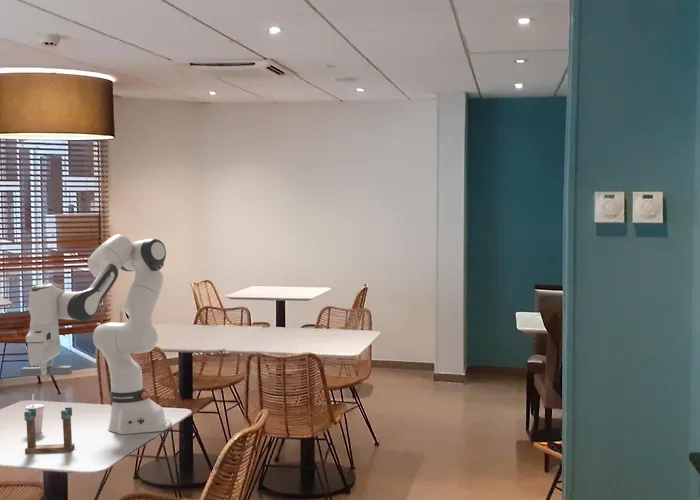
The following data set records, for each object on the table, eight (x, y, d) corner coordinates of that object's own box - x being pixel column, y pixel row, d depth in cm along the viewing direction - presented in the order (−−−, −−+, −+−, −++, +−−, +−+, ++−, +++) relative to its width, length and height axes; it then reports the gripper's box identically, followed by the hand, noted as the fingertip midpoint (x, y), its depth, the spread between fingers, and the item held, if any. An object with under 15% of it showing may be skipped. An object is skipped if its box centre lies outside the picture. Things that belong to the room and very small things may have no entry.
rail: (72, 372, 255) (71, 365, 255) (69, 374, 253) (69, 367, 252) (24, 374, 254) (23, 367, 254) (21, 376, 252) (20, 369, 252)
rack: (75, 447, 257) (73, 407, 257) (70, 452, 253) (68, 410, 252) (30, 449, 257) (28, 408, 256) (24, 453, 252) (22, 412, 251)
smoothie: (29, 430, 280) (28, 392, 279) (47, 429, 280) (46, 391, 280) (24, 435, 274) (22, 396, 273) (42, 434, 274) (40, 396, 273)
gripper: (46, 327, 263) (48, 367, 264) (23, 338, 242) (25, 380, 243) (64, 327, 263) (66, 366, 264) (43, 337, 243) (45, 380, 244)
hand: (46, 373), depth 253 cm, fingers closed on rail, 2 cm apart
